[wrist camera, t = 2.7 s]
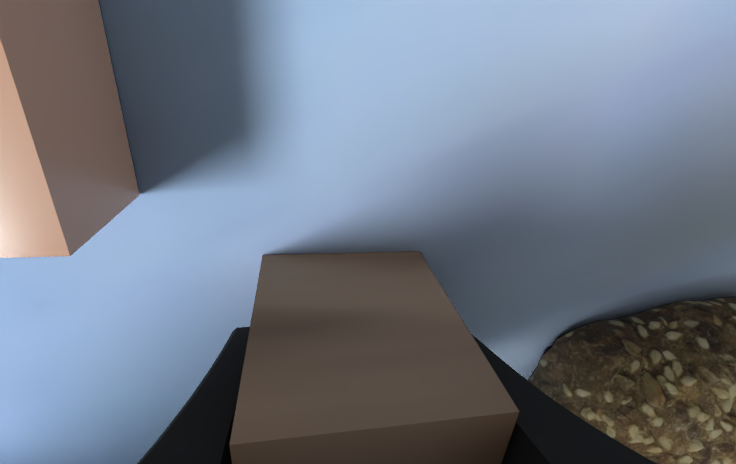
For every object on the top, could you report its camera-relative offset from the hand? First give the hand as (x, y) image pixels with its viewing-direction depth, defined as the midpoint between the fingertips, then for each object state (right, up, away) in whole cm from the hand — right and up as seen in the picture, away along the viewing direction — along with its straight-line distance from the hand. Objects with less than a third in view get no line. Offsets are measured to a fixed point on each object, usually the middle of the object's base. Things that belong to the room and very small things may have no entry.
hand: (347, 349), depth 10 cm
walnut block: (0, +1, +1) cm, 1 cm away
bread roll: (+12, -4, +7) cm, 15 cm away
